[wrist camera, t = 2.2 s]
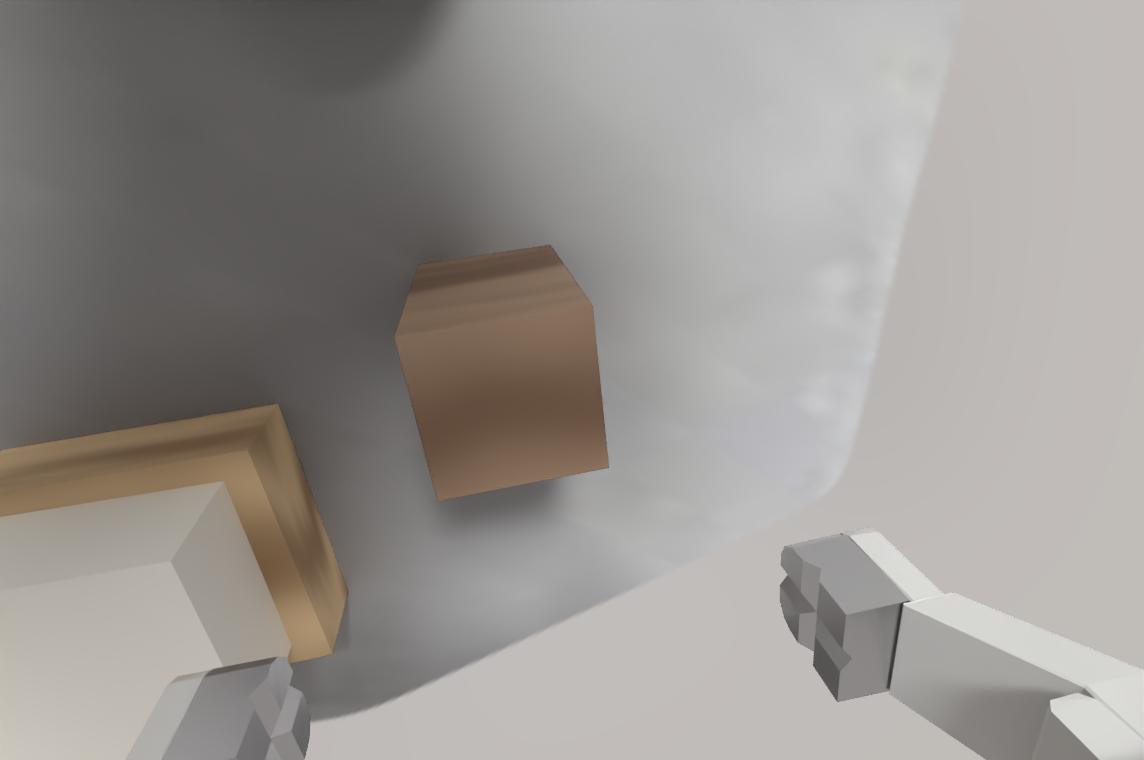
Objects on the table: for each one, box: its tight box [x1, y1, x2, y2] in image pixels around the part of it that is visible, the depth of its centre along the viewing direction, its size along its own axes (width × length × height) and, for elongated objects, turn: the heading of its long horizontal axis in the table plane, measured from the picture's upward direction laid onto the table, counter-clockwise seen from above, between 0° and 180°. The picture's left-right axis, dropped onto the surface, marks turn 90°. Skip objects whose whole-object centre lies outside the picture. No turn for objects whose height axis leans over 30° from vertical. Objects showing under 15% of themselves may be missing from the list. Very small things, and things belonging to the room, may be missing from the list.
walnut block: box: [394, 245, 609, 501], centre depth 19 cm, size 5×5×8 cm
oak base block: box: [0, 404, 348, 664], centre depth 23 cm, size 10×10×4 cm
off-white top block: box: [0, 481, 292, 760], centre depth 19 cm, size 8×8×4 cm
